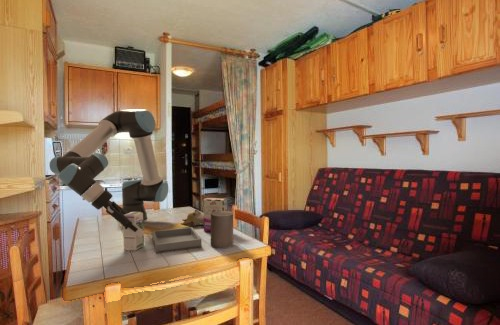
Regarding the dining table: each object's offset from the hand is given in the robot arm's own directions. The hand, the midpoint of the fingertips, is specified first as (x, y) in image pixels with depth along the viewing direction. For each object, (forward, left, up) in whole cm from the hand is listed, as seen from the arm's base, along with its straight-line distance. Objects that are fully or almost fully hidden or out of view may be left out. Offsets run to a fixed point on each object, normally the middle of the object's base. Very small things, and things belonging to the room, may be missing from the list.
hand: (142, 232), depth 117 cm
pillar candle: (+10, +32, -6) cm, 34 cm away
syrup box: (0, -3, -6) cm, 7 cm away
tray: (0, +14, -6) cm, 15 cm away
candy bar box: (-11, +35, -6) cm, 37 cm away
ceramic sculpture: (-26, +27, -7) cm, 39 cm away
